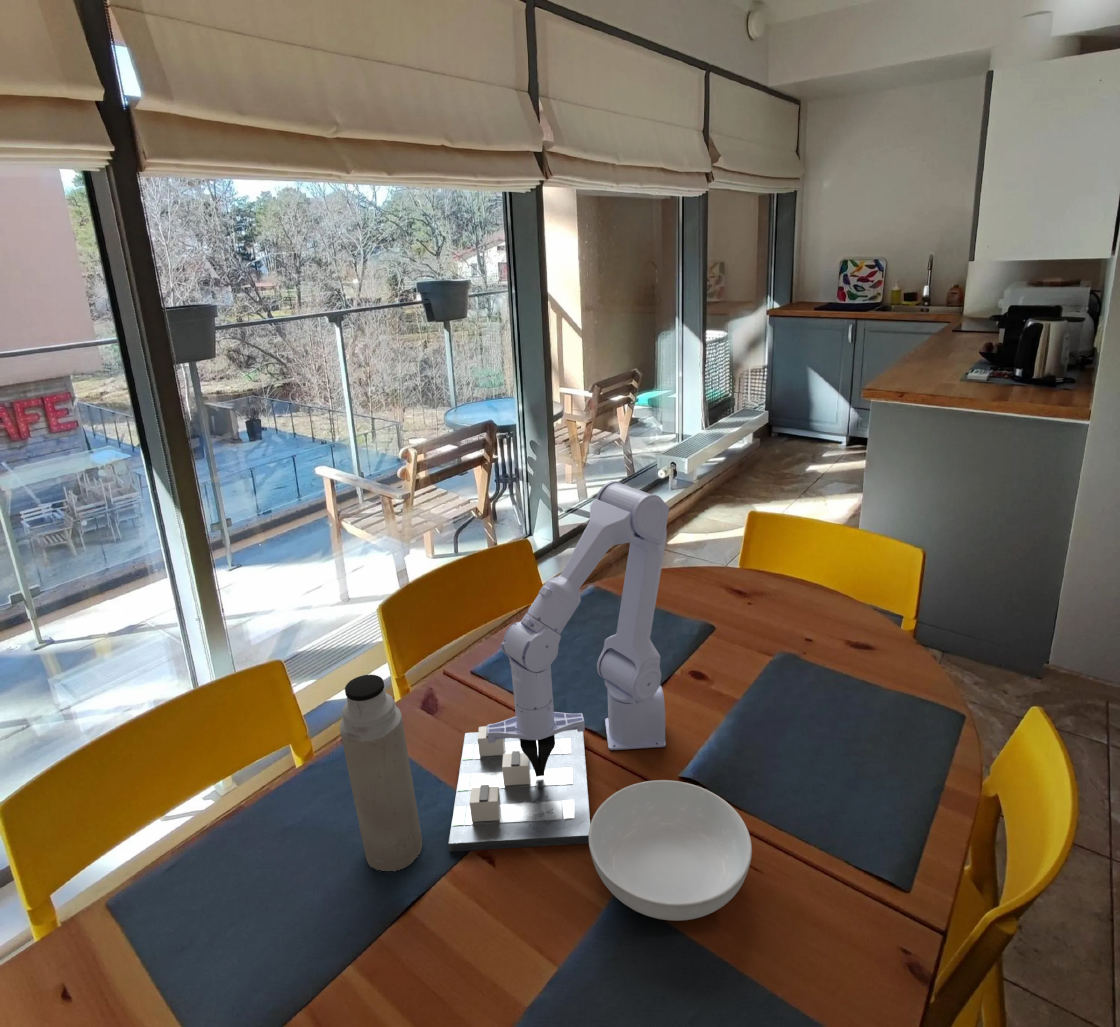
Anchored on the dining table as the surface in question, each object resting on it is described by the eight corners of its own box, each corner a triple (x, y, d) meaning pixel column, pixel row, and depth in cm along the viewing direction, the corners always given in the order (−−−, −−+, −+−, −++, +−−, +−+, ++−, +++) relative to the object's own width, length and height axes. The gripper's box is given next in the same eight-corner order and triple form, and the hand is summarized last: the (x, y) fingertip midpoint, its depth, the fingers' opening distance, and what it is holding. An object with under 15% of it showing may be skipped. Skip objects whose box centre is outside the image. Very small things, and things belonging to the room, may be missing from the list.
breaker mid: (530, 770, 116) (528, 750, 115) (530, 784, 113) (528, 763, 112) (505, 771, 116) (502, 751, 115) (504, 785, 113) (501, 765, 112)
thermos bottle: (384, 823, 110) (355, 662, 100) (432, 834, 108) (407, 670, 97) (354, 865, 103) (319, 697, 93) (404, 878, 101) (374, 707, 90)
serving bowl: (715, 976, 85) (717, 933, 83) (561, 900, 96) (558, 860, 93) (770, 850, 102) (773, 811, 99) (633, 797, 112) (632, 761, 110)
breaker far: (505, 742, 123) (503, 723, 121) (504, 754, 120) (502, 735, 119) (481, 744, 123) (478, 724, 121) (479, 756, 120) (477, 736, 119)
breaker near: (500, 804, 110) (498, 784, 108) (499, 820, 107) (497, 798, 106) (473, 806, 110) (471, 785, 108) (471, 821, 107) (469, 800, 106)
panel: (582, 733, 127) (582, 725, 126) (591, 843, 104) (591, 834, 104) (466, 740, 127) (465, 732, 126) (449, 851, 104) (448, 842, 104)
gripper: (578, 677, 114) (581, 748, 119) (483, 688, 112) (491, 760, 117) (585, 704, 107) (589, 779, 112) (485, 717, 106) (493, 792, 111)
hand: (539, 771), depth 114 cm, fingers closed
